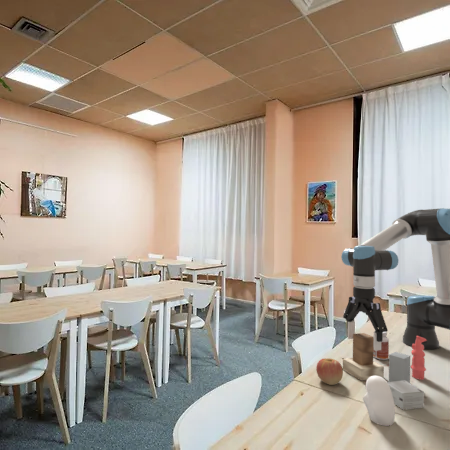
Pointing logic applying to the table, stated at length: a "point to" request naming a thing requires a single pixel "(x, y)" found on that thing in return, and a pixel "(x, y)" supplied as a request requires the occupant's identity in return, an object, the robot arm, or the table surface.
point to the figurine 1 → (379, 401)
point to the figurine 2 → (418, 359)
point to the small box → (406, 395)
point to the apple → (329, 371)
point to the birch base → (362, 369)
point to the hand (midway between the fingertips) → (363, 344)
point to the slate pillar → (399, 367)
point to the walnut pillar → (363, 349)
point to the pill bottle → (382, 348)
